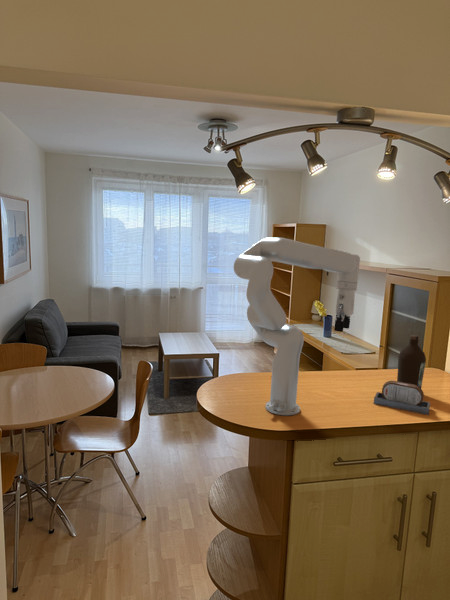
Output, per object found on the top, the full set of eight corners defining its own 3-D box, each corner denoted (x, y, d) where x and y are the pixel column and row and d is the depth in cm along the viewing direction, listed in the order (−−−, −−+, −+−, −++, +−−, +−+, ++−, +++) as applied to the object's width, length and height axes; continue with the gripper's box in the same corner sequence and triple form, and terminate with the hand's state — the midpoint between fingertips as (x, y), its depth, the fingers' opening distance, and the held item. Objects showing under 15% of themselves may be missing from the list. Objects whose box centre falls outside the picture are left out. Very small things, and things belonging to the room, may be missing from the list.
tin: (422, 407, 164) (425, 385, 163) (422, 409, 162) (424, 388, 160) (381, 398, 171) (383, 378, 170) (380, 400, 168) (382, 380, 167)
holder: (428, 415, 159) (429, 408, 159) (373, 403, 168) (374, 397, 168) (429, 408, 166) (430, 402, 165) (376, 397, 175) (377, 391, 174)
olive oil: (392, 393, 180) (399, 335, 177) (396, 387, 189) (403, 331, 186) (420, 399, 175) (427, 340, 172) (423, 392, 184) (429, 335, 181)
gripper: (351, 288, 156) (345, 334, 158) (361, 286, 171) (356, 328, 173) (331, 285, 160) (326, 330, 162) (342, 284, 175) (338, 325, 177)
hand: (341, 329), depth 167 cm, fingers open, 9 cm apart
